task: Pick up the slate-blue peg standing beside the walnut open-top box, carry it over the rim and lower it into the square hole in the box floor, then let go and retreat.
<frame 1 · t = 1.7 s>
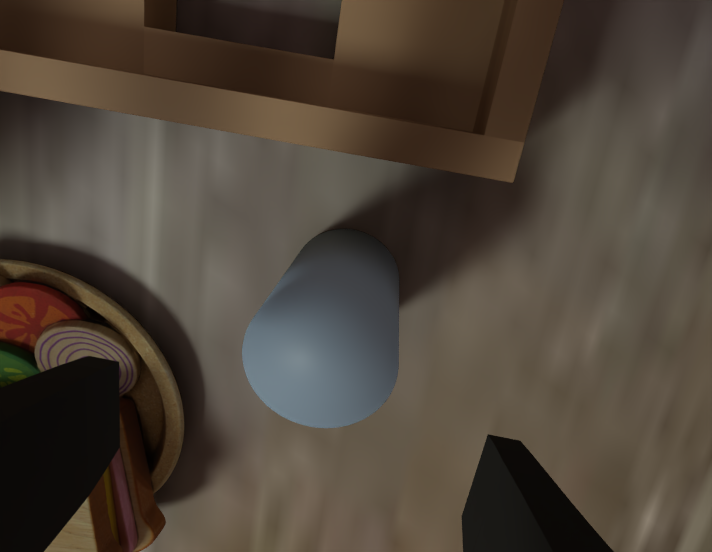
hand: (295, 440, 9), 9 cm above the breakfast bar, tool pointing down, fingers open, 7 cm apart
peg: (345, 281, 18), on the breakfast bar
toy sandwich meal: (70, 395, 21), on the breakfast bar
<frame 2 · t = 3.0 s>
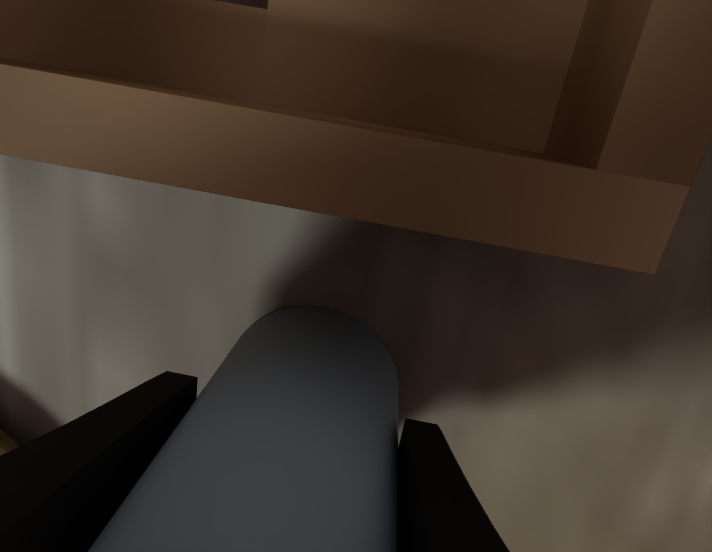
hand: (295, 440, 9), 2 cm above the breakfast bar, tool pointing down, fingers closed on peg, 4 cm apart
peg: (312, 385, 11), on the breakfast bar, touching gripper
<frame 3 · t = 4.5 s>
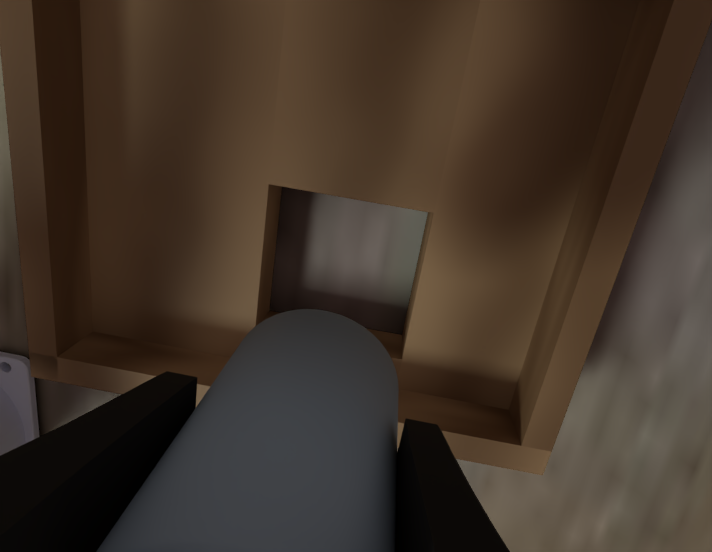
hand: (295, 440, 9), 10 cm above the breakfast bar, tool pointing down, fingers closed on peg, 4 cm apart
peg: (313, 386, 11), point 8 cm above the breakfast bar, touching gripper
tray: (330, 177, 17), on the breakfast bar
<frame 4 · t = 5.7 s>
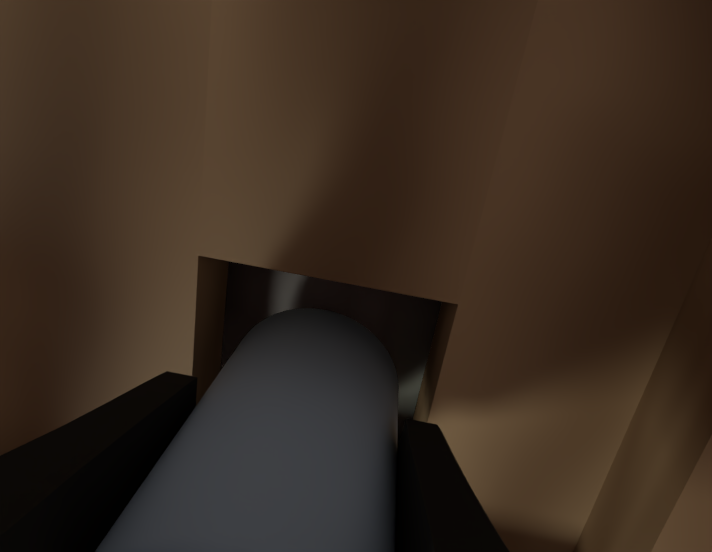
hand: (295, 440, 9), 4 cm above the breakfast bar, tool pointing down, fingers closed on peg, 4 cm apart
peg: (313, 385, 11), point 2 cm above the breakfast bar, touching gripper
tray: (300, 235, 12), on the breakfast bar
when the fingers open (3 cm above the breakfast bar, at t = 6.3 s): peg stays where it is, resting in tray.
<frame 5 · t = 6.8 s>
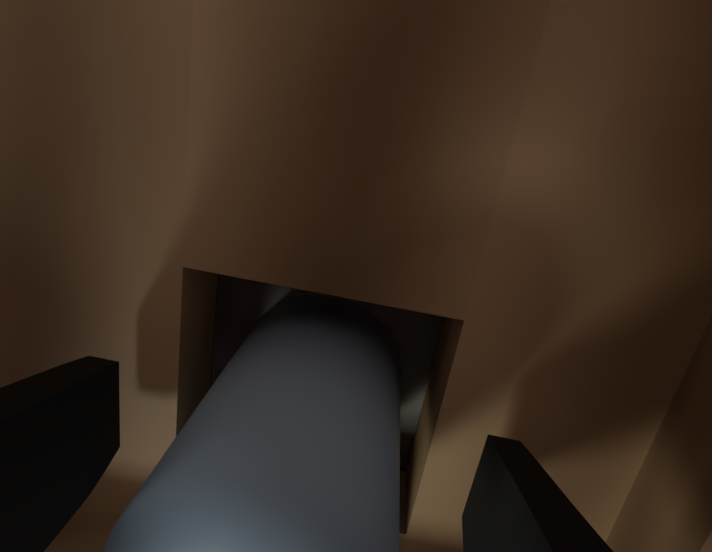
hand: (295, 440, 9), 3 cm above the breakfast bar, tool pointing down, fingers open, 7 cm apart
peg: (321, 368, 12), resting in tray
tray: (294, 243, 11), on the breakfast bar
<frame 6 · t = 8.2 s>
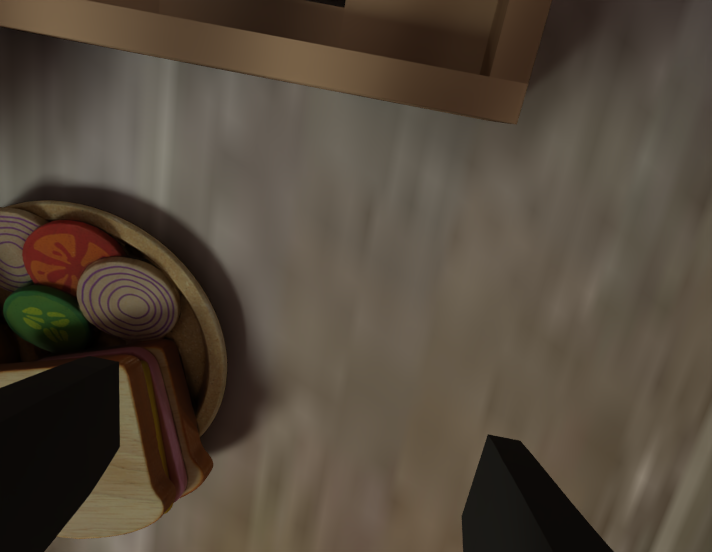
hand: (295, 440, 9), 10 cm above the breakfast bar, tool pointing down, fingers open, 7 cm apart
toy sandwich meal: (111, 345, 21), on the breakfast bar
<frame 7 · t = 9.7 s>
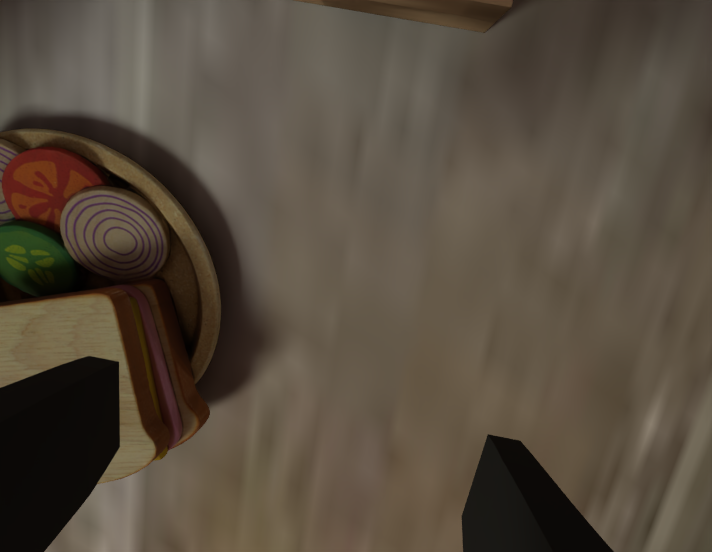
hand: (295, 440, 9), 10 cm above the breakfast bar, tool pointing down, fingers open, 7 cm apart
toy sandwich meal: (101, 291, 20), on the breakfast bar
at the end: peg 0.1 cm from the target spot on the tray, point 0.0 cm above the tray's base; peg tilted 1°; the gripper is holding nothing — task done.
